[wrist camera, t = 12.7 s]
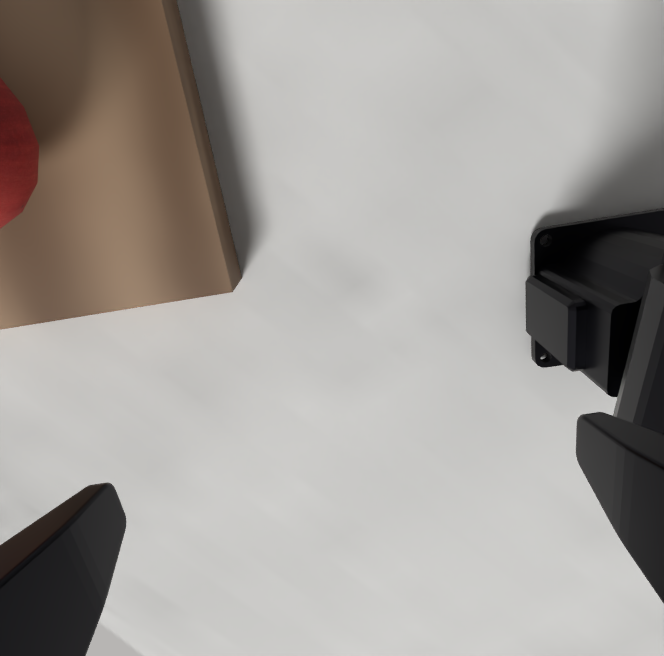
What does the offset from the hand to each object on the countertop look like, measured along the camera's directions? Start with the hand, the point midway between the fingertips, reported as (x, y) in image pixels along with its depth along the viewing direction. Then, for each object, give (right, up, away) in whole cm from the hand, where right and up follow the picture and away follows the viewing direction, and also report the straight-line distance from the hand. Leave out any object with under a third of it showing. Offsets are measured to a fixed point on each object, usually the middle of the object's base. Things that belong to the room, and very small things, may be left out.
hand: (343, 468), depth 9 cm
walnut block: (-12, +11, +11) cm, 19 cm away
